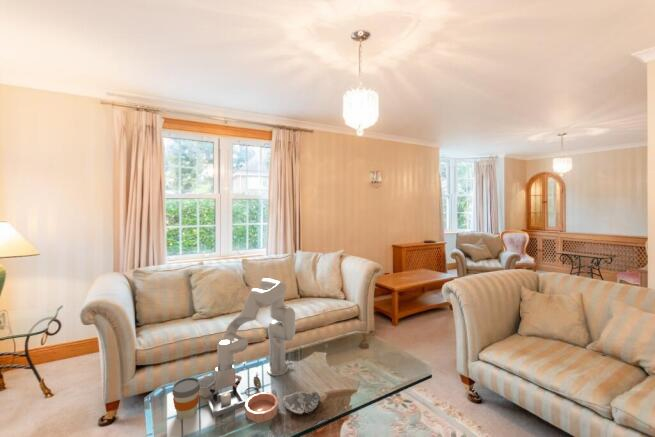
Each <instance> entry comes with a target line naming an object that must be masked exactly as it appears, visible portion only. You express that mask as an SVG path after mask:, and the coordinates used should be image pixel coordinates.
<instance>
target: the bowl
mask: <svg viewBox="0 0 655 437" xmlns="http://www.w3.org/2000/svg"><path fill="white" fill-rule="evenodd" d="M278 409H279V399H278V397H277V396H276V394H273V393H270V392H257V393H256V394H254V395H250V396H249V397H248V399H246V400H245V406H244V414H245V416H246V417H247V419H248V420H250V421H253V422H254V423H266V422H267V421H271V420H273V418H275V416H276V415H277V414H278V412H277V411H279V410H278Z"/></svg>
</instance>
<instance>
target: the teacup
mask: <svg viewBox="0 0 655 437" xmlns="http://www.w3.org/2000/svg"><path fill="white" fill-rule="evenodd" d="M214 375H215V374H214ZM214 375H213V374H212V375H208V374H204V375H203V376H204V377H202V378H201V379H200V380H199V383H200V389H199V392H200V394H199V397H202V398H204V399H207V398H209V397H212V396H213V393H211V392H210V391H209V389H208V387H207V386H208V385H209V384H211V383H212V382H213V381H214ZM214 387H215V386H212V387H211V388H212V389H213V388H214ZM219 391H220V390H218V391H217V392H216V393H217V394H219V393H218V392H219Z"/></svg>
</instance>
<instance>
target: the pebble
mask: <svg viewBox="0 0 655 437" xmlns="http://www.w3.org/2000/svg"><path fill="white" fill-rule="evenodd" d="M221 393H222V394H221ZM221 393H220V394H221V406H222V407H227V406H230V405H231V393H230V392H227V391H224V392H221Z"/></svg>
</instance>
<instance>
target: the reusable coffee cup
mask: <svg viewBox="0 0 655 437" xmlns="http://www.w3.org/2000/svg"><path fill="white" fill-rule="evenodd" d="M199 381H200V380H199V379H198V378H196V377H185V378H182V379H180V380H178V381H176V382H175V383H174V384H173V386H172V392H171V393H172V396H173V404H174V406H173V407H174V409H175V411H176V416H177V418H178V419H179V420H185V419H188V418H191V417H193V416H194V415H195V414H196V413H197V411H198V404H199V401H200V392H199V389H200V383H199Z"/></svg>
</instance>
